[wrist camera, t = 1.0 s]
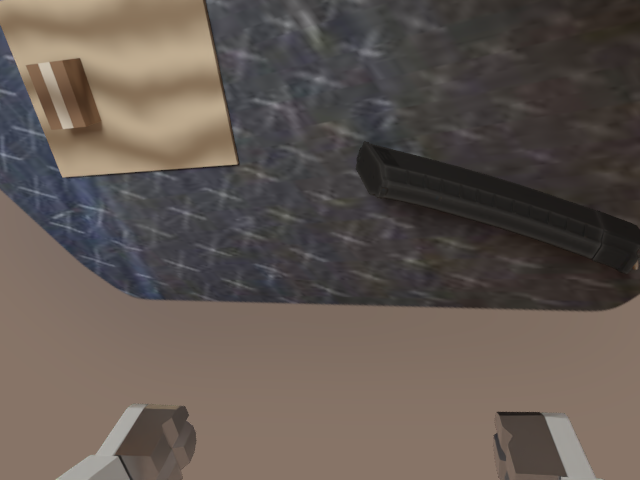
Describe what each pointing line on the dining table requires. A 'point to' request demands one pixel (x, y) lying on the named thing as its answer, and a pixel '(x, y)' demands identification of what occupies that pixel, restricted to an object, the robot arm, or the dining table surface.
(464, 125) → the dining table surface
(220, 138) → the cork mat
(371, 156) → the dark grey curved slab
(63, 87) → the brown small block
